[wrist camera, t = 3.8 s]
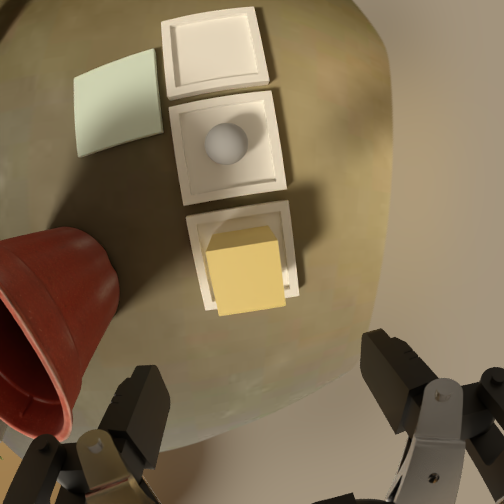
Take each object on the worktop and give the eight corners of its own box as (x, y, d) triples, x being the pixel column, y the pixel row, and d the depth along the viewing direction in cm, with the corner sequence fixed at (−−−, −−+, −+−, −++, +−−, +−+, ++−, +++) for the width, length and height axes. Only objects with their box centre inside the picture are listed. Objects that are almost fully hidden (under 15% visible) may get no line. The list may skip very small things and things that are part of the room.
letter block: (212, 234, 25) (205, 251, 19) (269, 225, 25) (278, 240, 19) (222, 285, 26) (219, 315, 20) (276, 277, 26) (286, 305, 20)
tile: (77, 80, 20) (74, 78, 19) (155, 51, 20) (153, 48, 19) (81, 157, 22) (77, 157, 22) (163, 132, 23) (161, 131, 22)
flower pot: (167, 324, 28) (120, 447, 12) (67, 355, 28) (8, 438, 13) (99, 178, 23) (-28, 192, 8) (9, 242, 24) (-83, 286, 9)
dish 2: (171, 110, 22) (168, 107, 21) (269, 94, 22) (271, 90, 21) (186, 204, 24) (183, 205, 23) (284, 188, 25) (286, 189, 23)
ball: (204, 130, 22) (199, 123, 19) (244, 124, 22) (245, 115, 19) (210, 168, 23) (205, 167, 20) (250, 162, 23) (252, 159, 20)
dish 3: (187, 215, 25) (185, 217, 24) (286, 199, 25) (288, 200, 24) (206, 304, 27) (205, 310, 26) (296, 290, 27) (299, 295, 26)
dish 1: (163, 27, 19) (161, 21, 18) (253, 12, 20) (253, 6, 18) (170, 100, 22) (167, 97, 21) (267, 84, 22) (269, 80, 21)
